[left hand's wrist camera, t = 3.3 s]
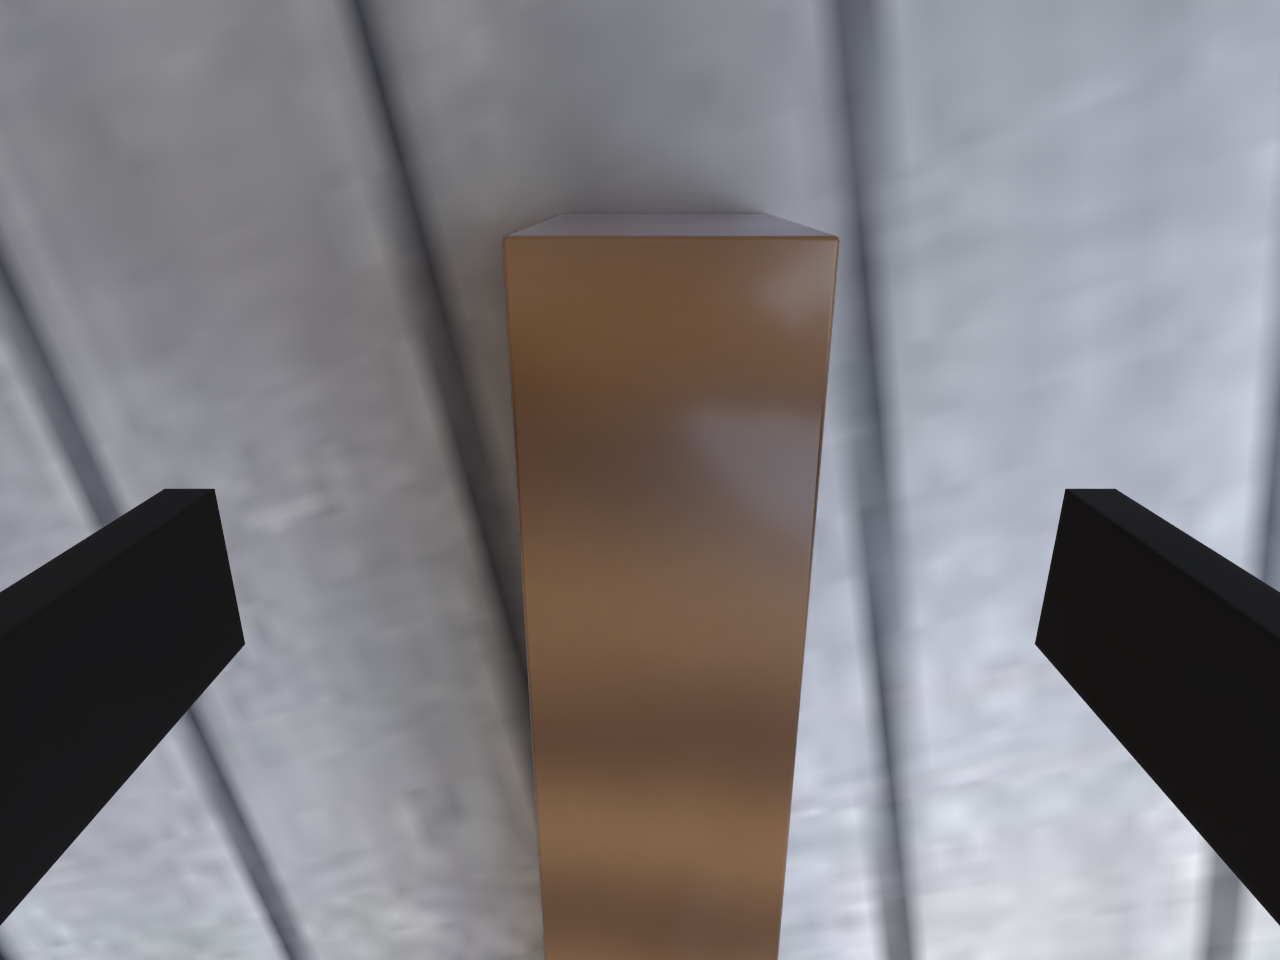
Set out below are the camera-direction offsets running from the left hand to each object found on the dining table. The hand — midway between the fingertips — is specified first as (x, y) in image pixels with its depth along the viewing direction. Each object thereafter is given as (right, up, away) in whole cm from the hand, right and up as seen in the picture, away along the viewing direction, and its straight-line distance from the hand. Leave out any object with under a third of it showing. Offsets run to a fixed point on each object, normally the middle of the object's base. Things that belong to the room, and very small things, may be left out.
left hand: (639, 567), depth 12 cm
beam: (+1, -21, +17) cm, 27 cm away
